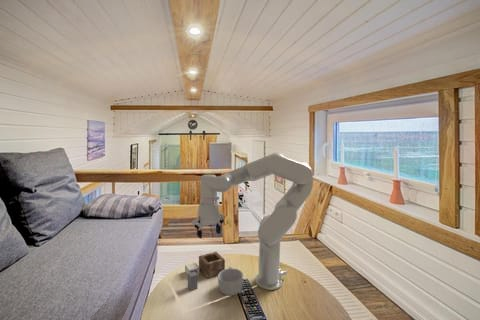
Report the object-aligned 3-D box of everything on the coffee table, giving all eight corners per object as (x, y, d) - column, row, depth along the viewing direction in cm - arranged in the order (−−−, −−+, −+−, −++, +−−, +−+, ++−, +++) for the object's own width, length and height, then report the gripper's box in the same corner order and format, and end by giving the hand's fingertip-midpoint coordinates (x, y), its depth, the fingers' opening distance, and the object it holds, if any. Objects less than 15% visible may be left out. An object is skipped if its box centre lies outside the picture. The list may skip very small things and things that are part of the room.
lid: (198, 281, 116) (198, 265, 115) (208, 293, 107) (208, 276, 107) (177, 288, 110) (177, 271, 110) (185, 301, 102) (185, 283, 101)
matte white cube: (194, 271, 124) (194, 261, 124) (199, 277, 119) (199, 267, 118) (185, 274, 121) (185, 264, 121) (189, 280, 116) (189, 270, 116)
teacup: (240, 301, 102) (240, 282, 101) (214, 298, 104) (215, 280, 103) (245, 281, 116) (245, 265, 115) (222, 279, 117) (222, 263, 117)
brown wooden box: (216, 266, 129) (216, 251, 128) (224, 275, 121) (224, 259, 120) (198, 271, 124) (198, 256, 123) (206, 280, 116) (206, 264, 115)
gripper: (221, 196, 125) (221, 229, 127) (188, 201, 116) (189, 236, 117) (228, 199, 119) (228, 234, 120) (195, 204, 109) (195, 242, 111)
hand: (209, 235), depth 119 cm, fingers open, 9 cm apart
